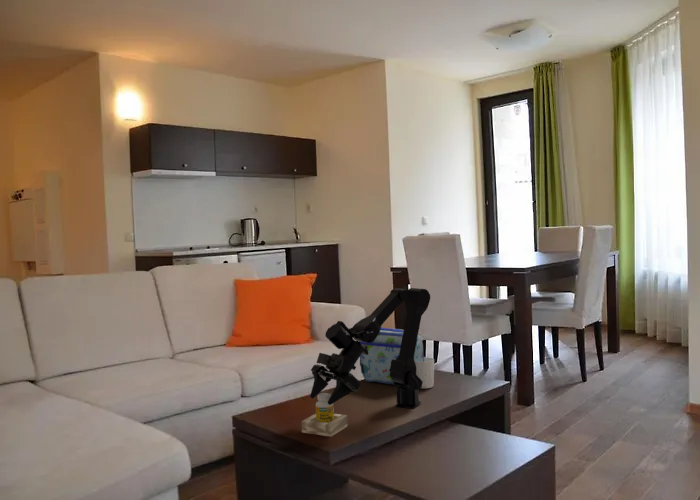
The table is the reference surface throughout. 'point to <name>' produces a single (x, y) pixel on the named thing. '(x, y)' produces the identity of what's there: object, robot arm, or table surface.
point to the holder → (324, 425)
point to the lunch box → (385, 355)
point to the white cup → (426, 372)
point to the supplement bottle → (324, 408)
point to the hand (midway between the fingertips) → (319, 400)
